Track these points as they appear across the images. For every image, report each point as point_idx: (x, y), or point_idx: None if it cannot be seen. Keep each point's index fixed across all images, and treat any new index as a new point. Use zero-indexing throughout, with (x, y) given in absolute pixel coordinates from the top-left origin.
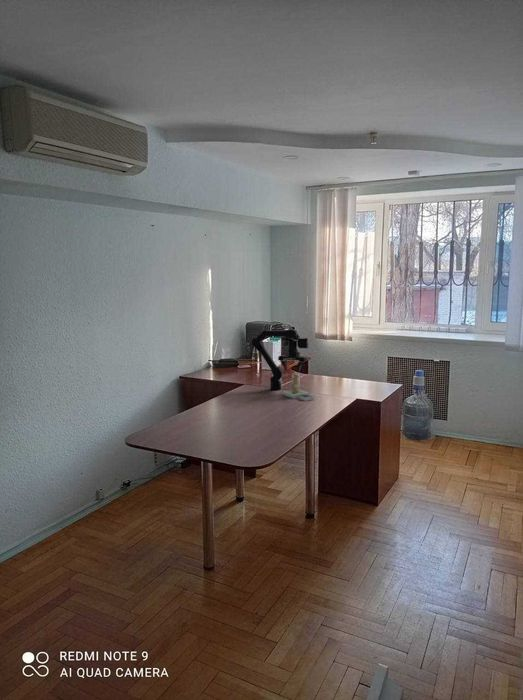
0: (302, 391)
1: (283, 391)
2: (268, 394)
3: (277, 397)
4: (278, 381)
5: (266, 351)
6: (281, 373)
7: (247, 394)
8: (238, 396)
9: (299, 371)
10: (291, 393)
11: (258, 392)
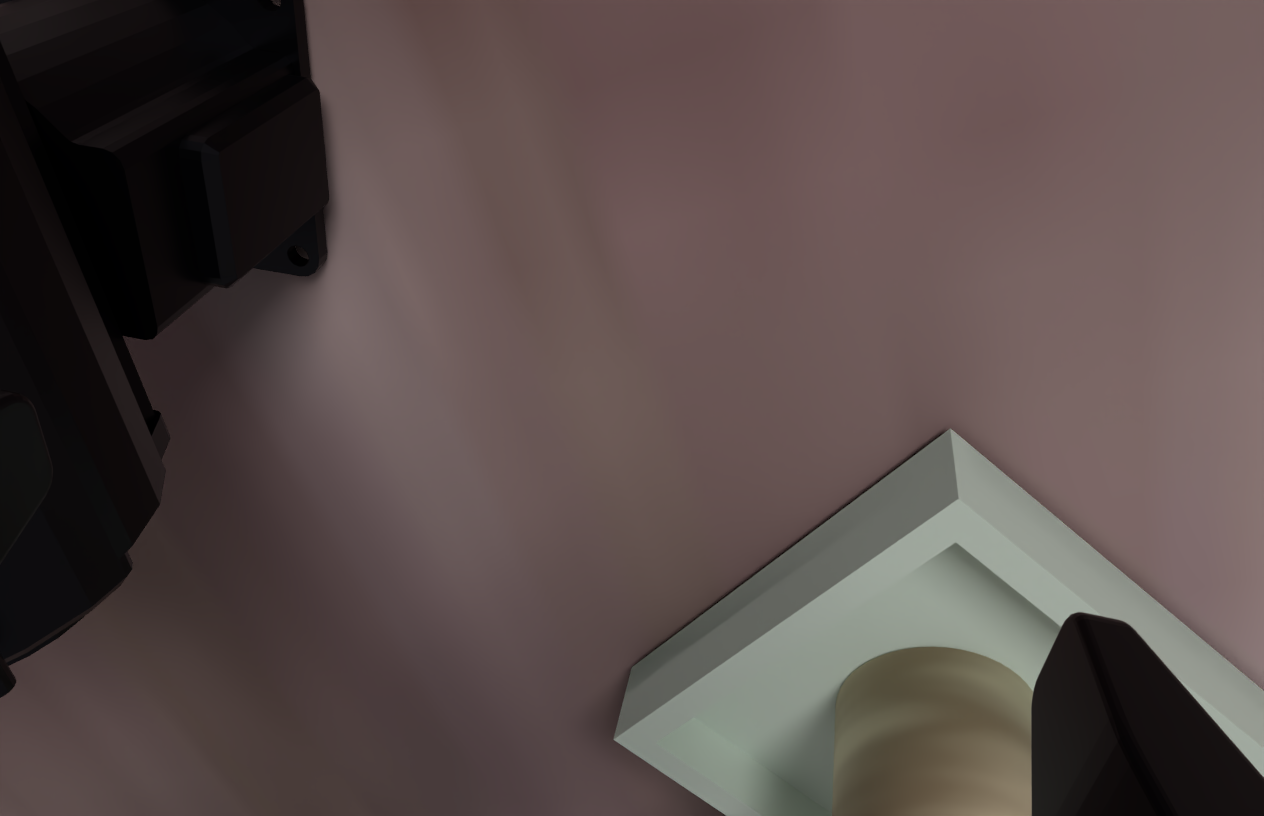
0: None
1: (633, 752)
2: (324, 633)
3: (591, 803)
4: (148, 337)
5: None
6: (37, 578)
7: None
8: (4, 800)
9: (1119, 645)
10: (823, 670)
11: None
